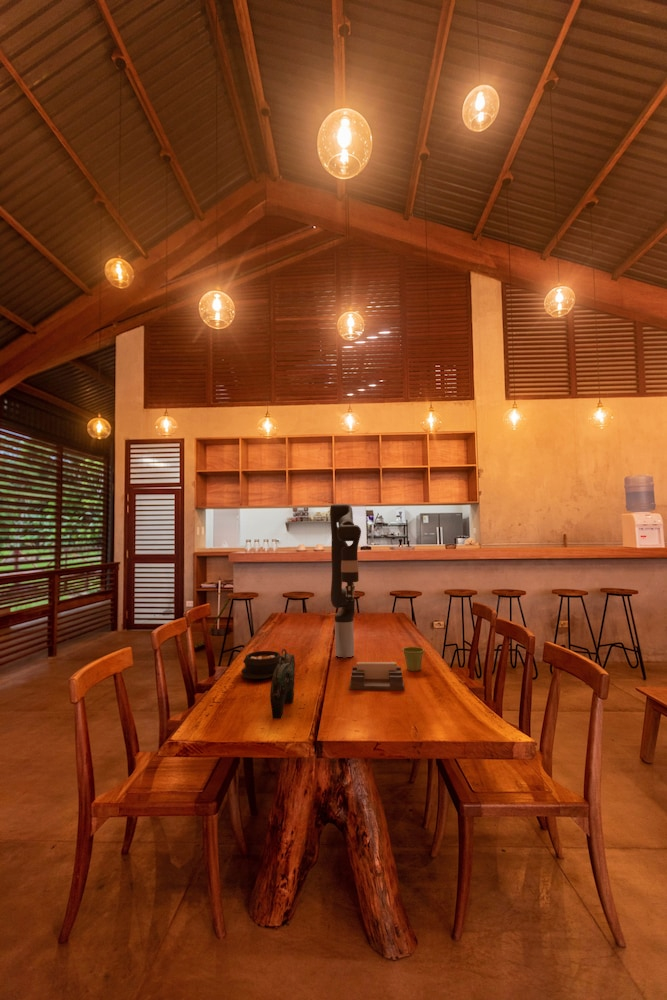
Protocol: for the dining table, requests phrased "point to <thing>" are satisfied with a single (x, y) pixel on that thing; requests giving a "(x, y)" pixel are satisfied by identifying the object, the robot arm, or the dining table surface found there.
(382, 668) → the clay strip
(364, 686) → the dark grey holder
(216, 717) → the dining table surface
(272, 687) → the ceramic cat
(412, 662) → the plant pot
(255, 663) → the casserole
